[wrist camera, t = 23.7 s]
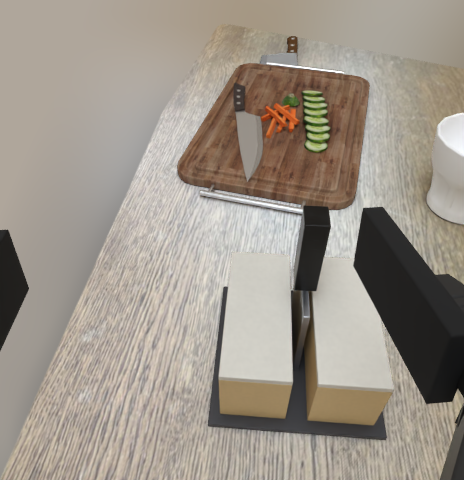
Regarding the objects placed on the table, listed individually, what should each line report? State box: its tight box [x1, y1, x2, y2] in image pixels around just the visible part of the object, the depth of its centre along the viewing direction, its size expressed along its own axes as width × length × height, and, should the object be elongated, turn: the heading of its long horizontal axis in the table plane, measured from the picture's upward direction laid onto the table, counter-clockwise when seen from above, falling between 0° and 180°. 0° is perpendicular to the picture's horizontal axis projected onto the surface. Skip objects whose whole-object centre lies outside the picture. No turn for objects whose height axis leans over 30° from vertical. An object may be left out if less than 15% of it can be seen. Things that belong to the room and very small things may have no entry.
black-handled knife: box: [291, 205, 331, 370], centre depth 40 cm, size 8×2×17 cm, turn 176°
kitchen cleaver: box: [260, 36, 298, 66], centre depth 96 cm, size 24×1×10 cm
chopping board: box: [177, 62, 370, 214], centre depth 75 cm, size 45×27×3 cm, turn 164°
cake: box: [208, 251, 394, 440], centre depth 42 cm, size 16×16×8 cm
